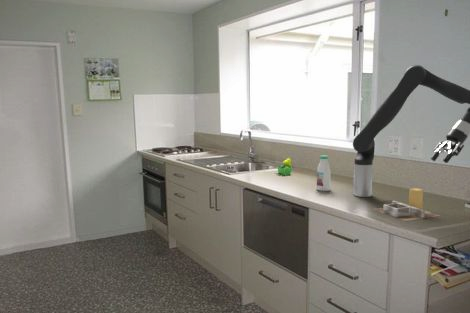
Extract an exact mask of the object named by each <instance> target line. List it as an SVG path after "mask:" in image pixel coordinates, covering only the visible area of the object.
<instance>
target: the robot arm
mask: <svg viewBox="0 0 470 313" xmlns="http://www.w3.org/2000/svg"><path fill="white" fill-rule="evenodd" d="M419 85H420V86H423V87H426V88H429V89H431V90H433V91H434V92H436V93H437V94H440V95H442V96H443V97H445V98H447V99H449V100H451V101H453V102H455V103H458V104H461V105H464V104H468V105H469V106H468V107H467V109H466V111H465V112H464V113H463V115H461V117H460V118H459V120H458V121H457V122H456V123H455V124H454V125H453V126H452V127H451V129H450V131H448V133H447V134H446V136H445V138H446V139H445V141H442V140H440V141H439V142H438V143H437V144H436V146H434V148H433V149H432V152H434V153H433V154H432V155H431V157H430V159H431V161H433V162H436V161H437V159H438V158H439V156H440V155H441V154H445V153H446V152H448V153H446V155H445V156H444V158H443V159H442V161H443V162H444V163H446V164H447V163H449V162H450V160H451V159H452V158H453V157H455V156H456V157H457V156H458V155H460V152H461V151H462V150H463V149H464V147H465V145H464V143H465V141H467V139H468V137H469V136H470V89H468V88H465V87H463V86H462V85H459V84H456V83H454V82H451V81H449V80H446V79H444V78H441V77H439V76H438V75H435V74H433V73H432V72H430V71H429V70H428V69H426V68H425V67H424V66H422V65H419V64H415V65H411V66H409V67H407V69H406V70H405V71H404V74H403V76H402V77H401V79H400V80H399V82H398V83H397V86H396V87H395V88H394V89H393V90H392V91H391V92H390V94H388V95H387V97H386V98H385V99H384V100H383V101H382V102H381V104H380V105H379V106H378V108H377V109H376V111H375V112H374V114H372V116H371V118H370V120H369V121H368V123H367V124H366V125H365V126H364V127H363V129H362V130H361V131H360V132H359V133H357V135H356V136H355V137H354V139H353V140H352V148H353V149H354V150H355V152H356V156H355V158H354V163H353V164H354V169H353V171H354V174H353V177H352V195H353V196H355V197H361V198H369V197H372V192H373V191H372V190H373V187H372V186H373V185H372V184H373V162H374V158H375V147H376V143H375V142H376V141H375V138H376V137H377V136H378V134H379V133H380V132H381V131H383V130H384V129H385V128H386V127H387V126H388V125H389V124H390V123H391V122H392V121H393V120H394V119H395V117H396V116H397V115H398V114H399V112H401V110H402V108H403V107H404V105H405V103H406V101H407V99H408V98H409V96H410V95H411V94H412V93H413V92H414V90H416V89H417V88H418V86H419Z"/></svg>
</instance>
